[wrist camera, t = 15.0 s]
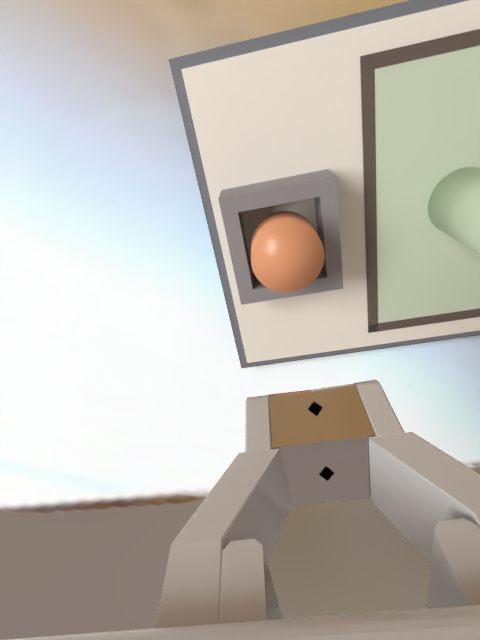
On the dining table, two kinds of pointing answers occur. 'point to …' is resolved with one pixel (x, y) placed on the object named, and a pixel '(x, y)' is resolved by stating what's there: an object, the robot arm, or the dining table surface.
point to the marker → (458, 206)
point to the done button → (286, 252)
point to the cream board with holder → (341, 174)
